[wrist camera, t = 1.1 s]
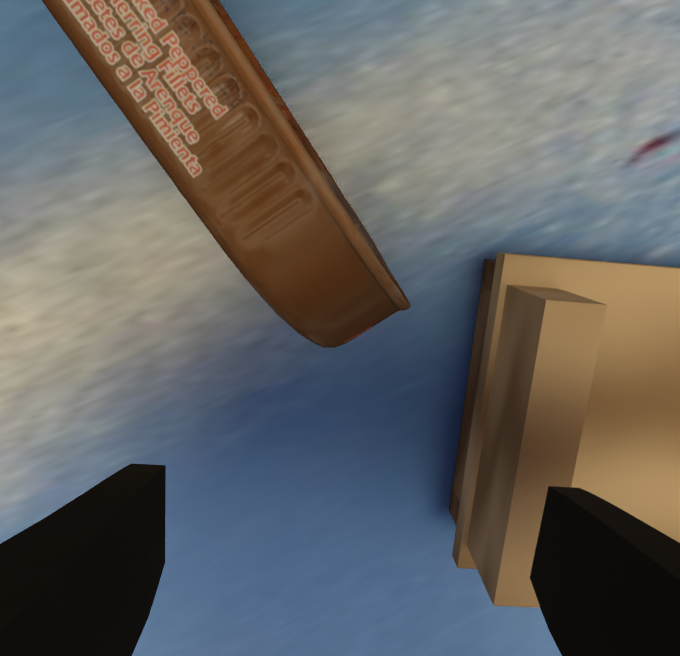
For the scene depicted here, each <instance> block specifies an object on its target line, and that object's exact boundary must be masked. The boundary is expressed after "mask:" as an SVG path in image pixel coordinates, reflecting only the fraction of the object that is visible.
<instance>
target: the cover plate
mask: <svg viewBox="0 0 680 656" xmlns="http://www.w3.org/2000/svg"><path fill="white" fill-rule="evenodd" d="M548 486H555V487H574V488H581V489H583V490H586V491H588V492H590V493H592V494H594V495H596V496H598V497H600V498H602V499H604V500H606V501H608V502H609V503H611V504H613V505H615V506H617V507H618V508H620V509H622V510H624V511H626V512H627V513H629V514H631V515H632V516H634V517H636V518H638V519H639V520H641V521H643V522H645V523H646V524H648V525H650V526H651V527H653V528H655V529H657V530H658V531H660V532H662V533H663V534H665V535H667V536H669V537H670V538H672V539H674V540H676V541H677V542H679V543H680V267H668V266H656V265H644V264H631V263H619V262H607V261H595V260H583V259H571V258H559V257H547V256H535V255H523V254H511V253H499V252H497V257H496V264H495V271H494V278H493V284H492V291H491V298H490V305H489V311H488V318H487V325H486V332H485V338H484V345H483V352H482V358H481V365H480V372H479V379H478V385H477V392H476V399H475V406H474V412H473V419H472V426H471V432H470V439H469V446H468V453H467V459H466V466H465V473H464V480H463V486H462V493H461V500H460V506H459V513H458V520H457V527H456V533H455V540H454V547H453V554H452V555H453V558H454V561H455V563H456V566H457V568H470V569H477V570H478V572H479V574H480V576H481V578H482V581H483V583H484V585H485V587H486V590H487V592H488V594H489V596H490V599H491V601H492V603H493V605H494V606H517V607H540V605H539V602H538V600H537V597H536V594H535V591H534V588H533V585H532V583H531V580H530V574H531V569H532V564H533V559H534V554H535V549H536V544H537V540H538V535H539V530H540V525H541V520H542V515H543V510H544V506H545V501H546V496H547V491H548Z"/></svg>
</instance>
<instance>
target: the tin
mask: <svg viewBox="0 0 680 656" xmlns="http://www.w3.org/2000/svg"><path fill="white" fill-rule="evenodd" d="M42 1H43V3H44V4H45V5H46V7H47V8H48V10H49V11H50V13H51V14H52V15H53V17H54V18H55V20H56V21H57V23H58V24H59V25H60V27H61V28H62V29H63V31H64V32H65V33H66V35H67V36H68V37H69V39H70V40H71V41H72V43H73V44H74V46H75V47H76V49H77V50H78V52H79V53H80V54H81V56H82V57H83V59H84V60H85V61H86V63H87V64H88V66H89V67H90V68H91V70H92V71H93V73H94V74H95V75H96V77H97V78H98V80H99V81H100V82H101V84H102V85H103V86H104V88H105V89H106V91H107V92H108V93H109V95H110V96H111V97H112V99H113V100H114V101H115V103H116V104H117V105H118V107H119V108H120V109H121V111H122V112H123V113H124V115H125V116H126V118H127V119H128V121H129V122H130V123H131V125H132V126H133V128H134V129H135V131H136V132H137V133H138V135H139V136H140V138H141V139H142V140H143V142H144V143H145V144H146V146H147V147H148V148H149V150H150V151H151V153H152V154H153V155H154V157H155V158H156V159H157V161H158V162H159V163H160V165H161V166H162V167H163V169H164V170H165V171H166V173H167V174H168V175H169V177H170V178H171V179H172V181H173V182H174V184H175V185H176V187H177V188H178V190H179V191H180V193H181V194H182V195H183V196H184V198H185V199H186V200H187V201H188V203H189V204H190V206H191V207H192V208H193V210H194V211H195V212H196V214H197V215H198V217H199V218H200V219H201V221H202V222H203V223H204V225H205V226H206V227H207V229H208V230H209V231H210V233H211V234H212V235H213V237H214V238H215V239H216V241H217V242H218V244H219V245H220V246H221V248H222V249H223V250H224V252H225V253H226V254H227V256H228V257H229V258H230V259H231V261H232V262H233V263H234V264H235V266H236V267H237V268H238V269H239V271H240V272H241V273H242V274H243V276H244V277H245V278H246V279H247V280H248V282H249V283H250V284H251V285H252V286H253V287H254V289H255V290H256V291H257V292H258V293H259V294H260V295H261V297H262V298H263V299H264V300H265V301H266V302H267V303H268V304H269V305H270V306H271V308H272V309H273V310H274V311H275V312H276V313H277V314H278V315H279V316H280V317H281V318H282V319H284V320H285V321H286V322H287V323H288V324H289V325H290V326H291V327H292V328H293V329H295V330H296V331H297V332H298V333H299V334H301V335H302V336H304V337H305V338H307V339H308V340H310V341H311V342H313V343H315V344H317V345H319V346H322V347H327V348H333V347H337V346H340V345H343V344H345V343H347V342H349V341H350V340H352V339H354V338H356V337H357V336H359V335H360V334H362V333H363V332H365V331H367V330H368V329H370V328H371V327H373V326H374V325H376V324H378V323H379V322H381V321H382V320H384V319H386V318H387V317H389V316H390V315H392V314H394V313H395V312H397V311H400V310H407V309H409V308H410V306H411V305H410V303H409V301H408V300H407V298H406V296H405V294H404V293H403V291H402V289H401V288H400V287H399V285H398V283H397V281H396V280H395V278H394V276H393V275H392V274H391V272H390V270H389V268H388V267H387V265H386V263H385V261H384V260H383V258H382V256H381V254H380V252H379V251H378V249H377V247H376V245H375V244H374V242H373V240H372V238H371V237H370V235H369V234H368V232H367V231H366V229H365V227H364V226H363V224H362V223H361V221H360V220H359V218H358V217H357V215H356V213H355V212H354V210H353V209H352V207H351V206H350V204H349V203H348V202H347V200H346V199H345V198H344V196H343V194H342V192H341V191H340V189H339V188H338V186H337V184H336V183H335V181H334V179H333V178H332V176H331V174H330V173H329V172H328V170H327V168H326V167H325V165H324V164H323V162H322V160H321V159H320V158H319V156H318V154H317V153H316V151H315V150H314V148H313V146H312V145H311V143H310V142H309V140H308V139H307V137H306V136H305V134H304V132H303V131H302V129H301V128H300V126H299V125H298V123H297V122H296V120H295V118H294V117H293V115H292V114H291V112H290V111H289V109H288V108H287V106H286V104H285V103H284V101H283V100H282V98H281V96H280V95H279V93H278V92H277V90H276V89H275V87H274V86H273V84H272V83H271V81H270V79H269V78H268V76H267V75H266V73H265V71H264V70H263V68H262V67H261V65H260V64H259V62H258V61H257V59H256V58H255V56H254V54H253V53H252V51H251V50H250V48H249V46H248V45H247V43H246V42H245V40H244V39H243V37H242V36H241V34H240V32H239V31H238V29H237V28H236V26H235V24H234V23H233V21H232V20H231V18H230V17H229V15H228V14H227V12H226V11H225V9H224V7H223V6H222V4H221V3H220V1H219V0H42Z"/></svg>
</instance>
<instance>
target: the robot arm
mask: <svg viewBox="0 0 680 656" xmlns="http://www.w3.org/2000/svg"><path fill="white" fill-rule="evenodd" d="M164 564H165V465H147V464H130V465H128V466H126V467H124V468H123V469H121V470H119V471H118V472H116V473H115V474H113V475H111V476H110V477H108V478H107V479H105V480H104V481H102V482H101V483H99V484H97V485H96V486H94V487H93V488H91V489H90V490H88V491H87V492H85V493H84V494H82V495H80V496H79V497H77V498H76V499H74V500H73V501H71V502H69V503H68V504H66V505H65V506H63V507H62V508H60V509H58V510H57V511H55V512H54V513H52V514H51V515H49V516H47V517H46V518H44V519H42V520H41V521H39V522H37V523H36V524H34V525H32V526H30V527H29V528H27V529H25V530H24V531H22V532H20V533H18V534H17V535H15V536H13V537H11V538H10V539H8V540H6V541H5V542H3V543H1V544H0V656H132V654H133V651H134V649H135V647H136V644H137V642H138V640H139V637H140V635H141V633H142V631H143V628H144V626H145V623H146V621H147V619H148V616H149V613H150V610H151V607H152V604H153V600H154V597H155V594H156V591H157V588H158V584H159V581H160V577H161V574H162V570H163V567H164ZM530 580H531V583H532V585H533V588H534V591H535V594H536V597H537V600H538V602H539V605H540V608H541V611H542V613H543V616H544V618H545V621H546V623H547V626H548V628H549V631H550V633H551V635H552V637H553V639H554V641H555V643H556V645H557V647H558V649H559V651H560V652H561V654H562V656H680V543H679V542H677V541H676V540H674V539H672V538H670V537H669V536H667V535H665V534H663V533H662V532H660V531H658V530H657V529H655V528H653V527H651V526H650V525H648V524H646V523H645V522H643V521H641V520H639V519H638V518H636V517H634V516H632V515H631V514H629V513H627V512H626V511H624V510H622V509H620V508H618V507H617V506H615V505H613V504H611V503H609V502H608V501H606V500H604V499H602V498H600V497H598V496H596V495H594V494H592V493H590V492H588V491H586V490H583V489H581V488H574V487H555V486H548V491H547V496H546V501H545V506H544V510H543V515H542V520H541V525H540V530H539V535H538V540H537V544H536V549H535V554H534V559H533V564H532V569H531V574H530Z"/></svg>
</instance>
